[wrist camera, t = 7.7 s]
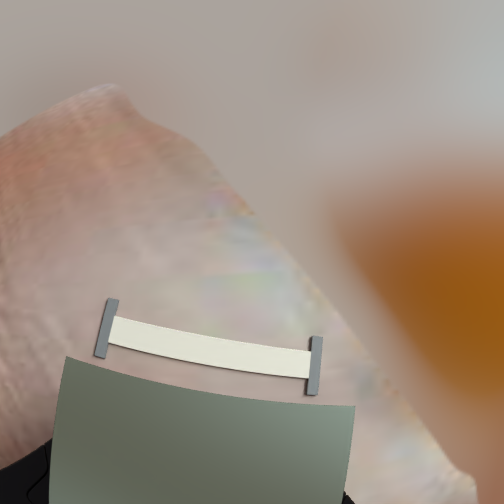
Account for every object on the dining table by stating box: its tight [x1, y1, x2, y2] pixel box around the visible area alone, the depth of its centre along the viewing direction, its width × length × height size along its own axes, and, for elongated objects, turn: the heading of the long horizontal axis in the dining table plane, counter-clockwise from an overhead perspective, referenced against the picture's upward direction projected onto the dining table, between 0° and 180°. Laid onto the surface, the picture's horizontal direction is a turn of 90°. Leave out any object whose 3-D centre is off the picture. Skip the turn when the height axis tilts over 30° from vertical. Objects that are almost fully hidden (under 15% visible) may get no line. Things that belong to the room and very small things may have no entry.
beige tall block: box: [49, 356, 355, 504], centre depth 8 cm, size 4×4×12 cm
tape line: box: [95, 298, 323, 395], centre depth 21 cm, size 16×4×1 cm, turn 83°
